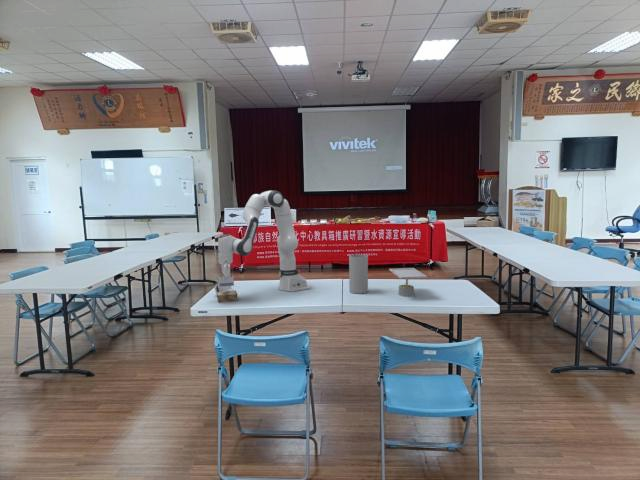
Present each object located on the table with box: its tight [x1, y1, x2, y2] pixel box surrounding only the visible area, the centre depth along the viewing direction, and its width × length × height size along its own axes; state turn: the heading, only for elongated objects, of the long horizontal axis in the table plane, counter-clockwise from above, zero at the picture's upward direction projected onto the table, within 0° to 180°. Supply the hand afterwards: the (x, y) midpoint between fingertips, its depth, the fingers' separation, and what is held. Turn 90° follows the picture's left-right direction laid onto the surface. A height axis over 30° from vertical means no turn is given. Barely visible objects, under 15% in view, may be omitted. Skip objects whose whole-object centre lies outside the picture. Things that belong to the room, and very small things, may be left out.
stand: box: [216, 290, 239, 303], centre depth 279 cm, size 12×8×5 cm, turn 107°
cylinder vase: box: [348, 253, 369, 295], centre depth 293 cm, size 12×12×25 cm
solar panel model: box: [388, 267, 428, 298], centre depth 285 cm, size 28×17×15 cm, turn 5°
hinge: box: [214, 282, 234, 295], centre depth 294 cm, size 17×5×10 cm, turn 167°
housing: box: [218, 274, 235, 287], centre depth 277 cm, size 9×5×6 cm, turn 107°
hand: (226, 281), depth 277 cm, fingers closed on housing, 5 cm apart
